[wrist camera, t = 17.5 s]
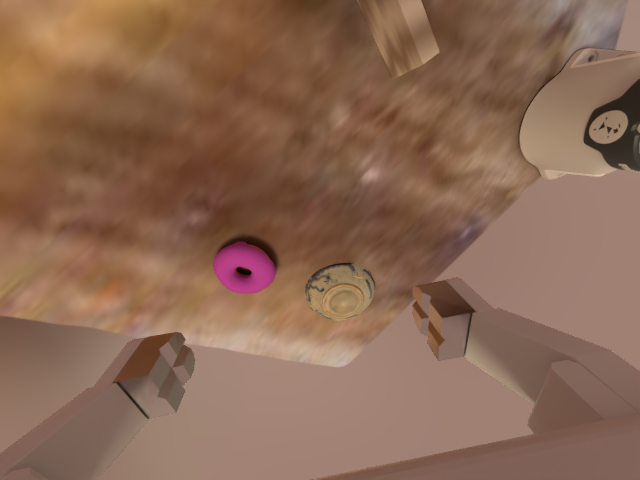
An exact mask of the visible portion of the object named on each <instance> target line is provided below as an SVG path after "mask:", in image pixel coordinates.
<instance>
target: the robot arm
mask: <svg viewBox="0 0 640 480" xmlns="http://www.w3.org/2000/svg"><path fill="white" fill-rule="evenodd" d="M520 147H521V151H522V153H523V155H524V157H525V158H526V160H527V161H528V162H530V163H531V164H533V165H535V166H536V167H537V168H538V169H539V172H540V174H541V176H542V177H543V178H544V179H551V180H552V179H555V178H558V177H561V176H563V175H566V174H577V175H586V176H603V175H604V174H607V173H611V172H613V171H615V170H617V169H622V170H628V171H632V172H639V173H640V52H632V51H620V50H608V49H595V48H586V49H580V50H578V51H577V52H575V53H574V55H573V56H572V57H571V58H570V60H569V61H568V62H567V64H566V65H565V67H564V68H563V70H562V71H561V72H560V73H559V74H558V75H557V76H556V77H554V78H553V79H552V80H551V81H550V82H549V83H547V84H546V85H545V86H544V87H543V88H542V89H541V91H540V92H539V93H538V94H537V95H536V97H535V98H534V99H533V101H532V102H531V104H530V106H529V108H528V109H527V111H526V114H525V116H524V119H523V122H522V125H521V130H520ZM413 297H414V298H415V300H416V302H415V303H414V305H413V316H414V320H415V323H416V325H417V327H418V329H419V330H420V332H421V333H422V334H424V335H426V336H428V340H427V344H428V345H429V347H430V348H431V350H432V352H433V353H434V355H435V356H436V358H437V360H438V361H441V360H447V359H452V358H458V357H464V356H465V358H466V359H467V360H469V361H470V362H472V363H473V364H475V365H476V366H478V367H479V368H480V369H482V370H483V371H485V372H486V373H488V374H489V375H491V376H492V377H494V378H495V379H497V380H498V381H500V382H501V383H502V384H504V385H505V386H507V387H508V388H510V389H511V390H513V391H514V392H515V393H517V394H518V395H520V396H522V397H523V398H524V399H526V400H527V401H529V402H530V403H532V404H533V405H534V407H533V409H532V412H531V414H530V417H529V420H528V426H529V428H530V429H531V430H532V431H533V433H534V434H532V435H527V436H522V437H517V438H512V439H507V440H502V441H498V442H493V443H488V444H483V445H478V446H473V447H468V448H463V449H459V450H454V451H449V452H444V453H439V454H434V455H430V456H424V457H419V458H414V459H410V460H405V461H400V462H395V463H391V464H385V465H381V466H375V467H371V468H366V469H361V470H356V471H352V472H346V473H341V474H337V475H331V476H327V477H322V478H317V479H312V480H640V371H639V370H637V369H636V368H634V367H633V366H632V365H630V364H629V363H627V362H626V361H625V360H623V359H622V358H620V357H619V356H618V355H616V354H615V353H613V352H612V351H611V350H608V349H606V348H603V347H600V346H598V345H595V344H593V343H590V342H587V341H585V340H582V339H580V338H577V337H574V336H572V335H569V334H566V333H564V332H561V331H558V330H555V329H553V328H550V327H548V326H545V325H543V324H540V323H537V322H535V321H532V320H529V319H527V318H524V317H521V316H519V315H516V314H514V313H511V312H508V311H506V310H503V309H500V308H497V309H494V308H493V307H492V306H491V305H489V304H488V303H487V302H486V301H485V300H484V299H483V298H482V297H481V296H480V295H478V294H477V293H476V292H475V291H474V290H473V289H472V288H471V287H469V286H468V285H467V284H466V283H465V282H464V281H463V280H462V279H460V278H452V279H447V280H443V281H439V282H434V283H429V284H424V285H419V286H414V288H413ZM184 342H185V338H184V337H183V335H182V333H179V332H174V333H168V334H162V335H156V336H150V337H147V338H140V339H134V340H132V341H130V342H128V343H127V344H126V345H125V347H124V348H123V349H122V351H121V352H120V353H119V354H118V356H117V357H116V358H115V360H114V361H113V362H112V364H111V365H110V366H109V367H108V369H107V370H106V371H105V372H104V374H103V375H102V376H101V378H100V379H99V380H98V381H97V383H96V384H95V385H94V386H93V387H92V388H88V389H86V390H85V391H83V392H82V393H81V394H79V395H78V396H77V397H75V398H74V399H73V400H71V401H70V402H69V403H67V404H66V405H65V406H63V407H62V408H61V409H59V410H58V411H57V412H55V413H54V414H52V416H50V417H48V418H47V419H46V420H45V421H43V422H42V423H40V424H39V425H38V426H37V427H35V428H34V429H32V430H31V431H30V432H28V433H27V434H26V435H24V436H23V437H22V438H20V439H19V440H18V441H16V442H15V443H14V444H12V445H11V446H10V447H8V448H7V449H5V450H4V451H3V452H1V453H0V480H98V479H99V478H100V477H101V476H102V475H103V474H104V472H105V471H106V470H107V469H108V468H109V467H110V465H111V464H112V463H113V462H114V461H115V459H116V458H117V457H118V456H119V455H120V454H121V453H122V451H123V450H124V449H125V448H126V447H127V445H128V444H129V443H130V442H131V441H132V440H133V439H134V437H135V436H136V435H137V434H138V433H139V432H140V430H141V429H142V428H143V427H144V426H145V425H146V423H147V422H148V419H151V418H156V417H160V416H165V415H169V414H173V413H176V412H177V409H178V407H179V405H180V402H181V400H182V398H183V395H184V393H185V389H184V384H185V383H186V382H187V381H188V380H189V379H190V378H191V376H192V373H193V371H194V365H195V358H194V354H193V352H192V350H191V349H190V348H189V347H187V346H185V345H184Z"/></svg>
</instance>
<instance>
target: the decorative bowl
mask: <svg viewBox="0 0 640 480" xmlns="http://www.w3.org/2000/svg"><path fill="white" fill-rule="evenodd" d="M374 294H375V282H374V281H373V280H372V277H371V273H370V271H369V270H368V269H366V268H365V267H363V266H361V265H359V264H356V263H352V264H345V265H344V264H343V265H334V266H330V267H327V268H324V269H320V270H318V271H317V272H316V273H314V274H313V275H312V276H311V278H310V279H309V280H308V283H307V284H306V287H305V299H306V302H307V304H308V306H309V307H310V308H311V309H312V310H313V311H315V312H318V315H320V316H321V317H324V318H326V319H330V320H337V321H340V320H347V319H350V318H353V317H355V316H357V315H358V314H360V313H361V312H363V311H364V310H365V309H366V308H367V307H368V305H369V304H370V303H371V301H372V299H373V296H374Z"/></svg>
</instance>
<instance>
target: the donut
mask: <svg viewBox="0 0 640 480" xmlns="http://www.w3.org/2000/svg"><path fill="white" fill-rule="evenodd" d="M213 267H214V271H215V273H216V275H217V277H218V279H219V280H220V282H221V283H222V284H223V285H224V286H225V287H226V288H228V289H229V290H231V291H233V292H237V293H244V294H252V293H257V292H259V291H261V290H263V289H265V288H266V287H268V286H269V285H270V284H271V283H272V282H273V280H274V279H275V276H276V269H275V267H274V262H272V261H271V260H270V259H269V257H268V255H267V254H266V253H265V252H264V251H263V250H262V249H260V248H259V247H257V246H254V245H249V244H247V243H246V242H236V243H234V244H232V245H229V246H227V247H225V248H223V249H222V250H221V251H220V252H219V253H217V255H216V256H215V258H214V262H213ZM237 267H244V268H247V269H249V270H250V271H251V272H252V273H251V274H250V275H244V274H241V273H239V272H238V271H237V270H236V268H237Z"/></svg>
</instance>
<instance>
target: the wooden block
mask: <svg viewBox="0 0 640 480" xmlns="http://www.w3.org/2000/svg"><path fill="white" fill-rule="evenodd" d="M357 2H358V5H359V7H360V9H361V11H362V13H363V16H364V18H365V20H366V22H367V24H368V26H369V29H370V31H371V33H372V35H373V37H374V40H375V42H376V44H377V46H378V48H379V51H380V53H381V55H382V57H383V59H384V61H385V64H386V66H387V68H388V70H389V72H390V75H391V77H392V79H395V78H397V77H399V76H401V75H403V74H405V73H407V72H409V71H411V70H413V69H415V68H417V67H419V66H422V65H423V64H425V63H426V62H427V61H429V60H430V59H431V58H433V57H434V56H435V55H436V54H438V53H439V52H440V51H439V48H438V46H437V43H436V40H435V37H434V35H433V32H432V29H431V26H430V23H429V21H428V18H427V15H426V12H425V9H424V7H423V4H422V1H421V0H357Z"/></svg>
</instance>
